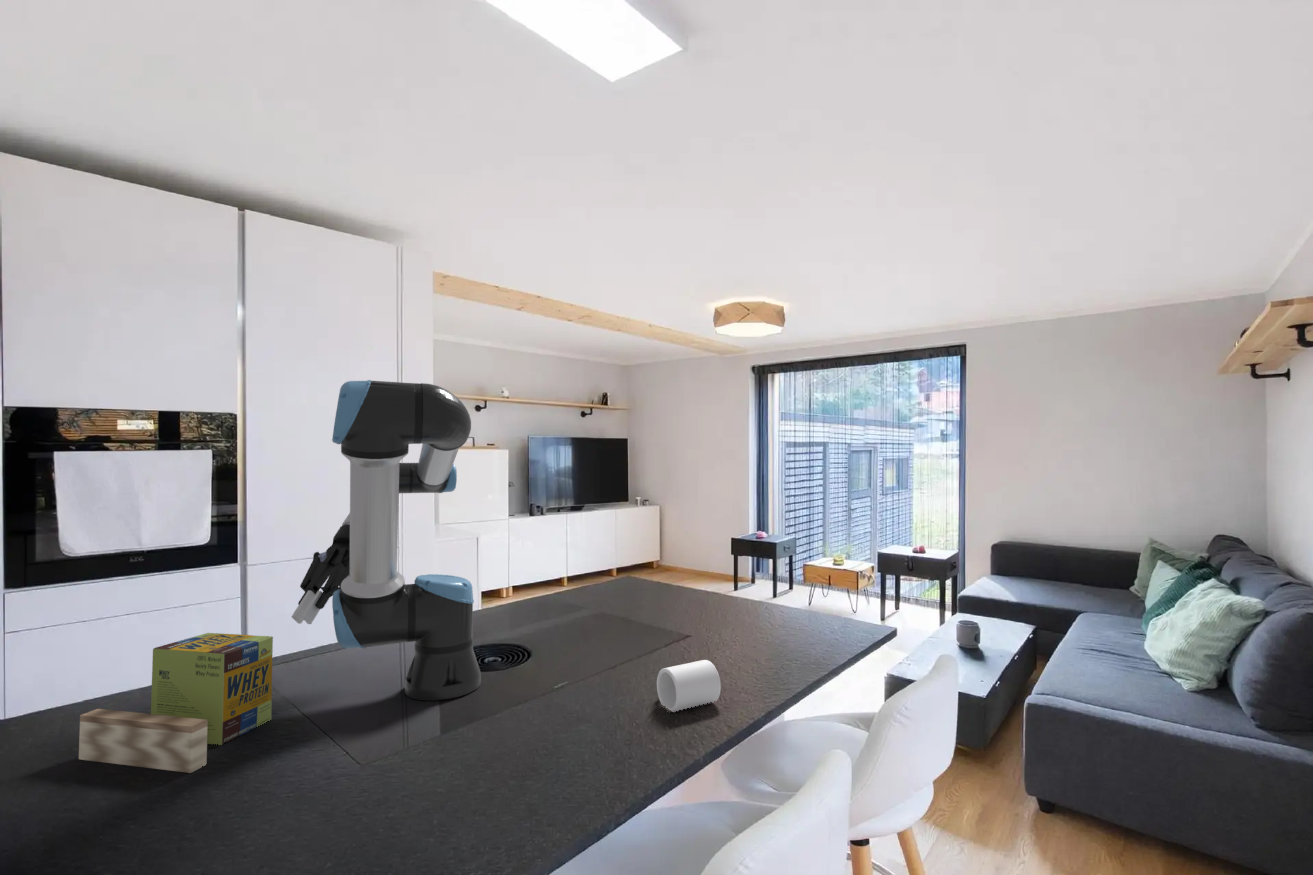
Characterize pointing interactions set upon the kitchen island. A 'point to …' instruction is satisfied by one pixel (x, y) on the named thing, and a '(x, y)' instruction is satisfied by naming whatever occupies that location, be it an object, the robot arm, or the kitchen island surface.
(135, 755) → the rail
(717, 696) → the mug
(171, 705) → the protein box
